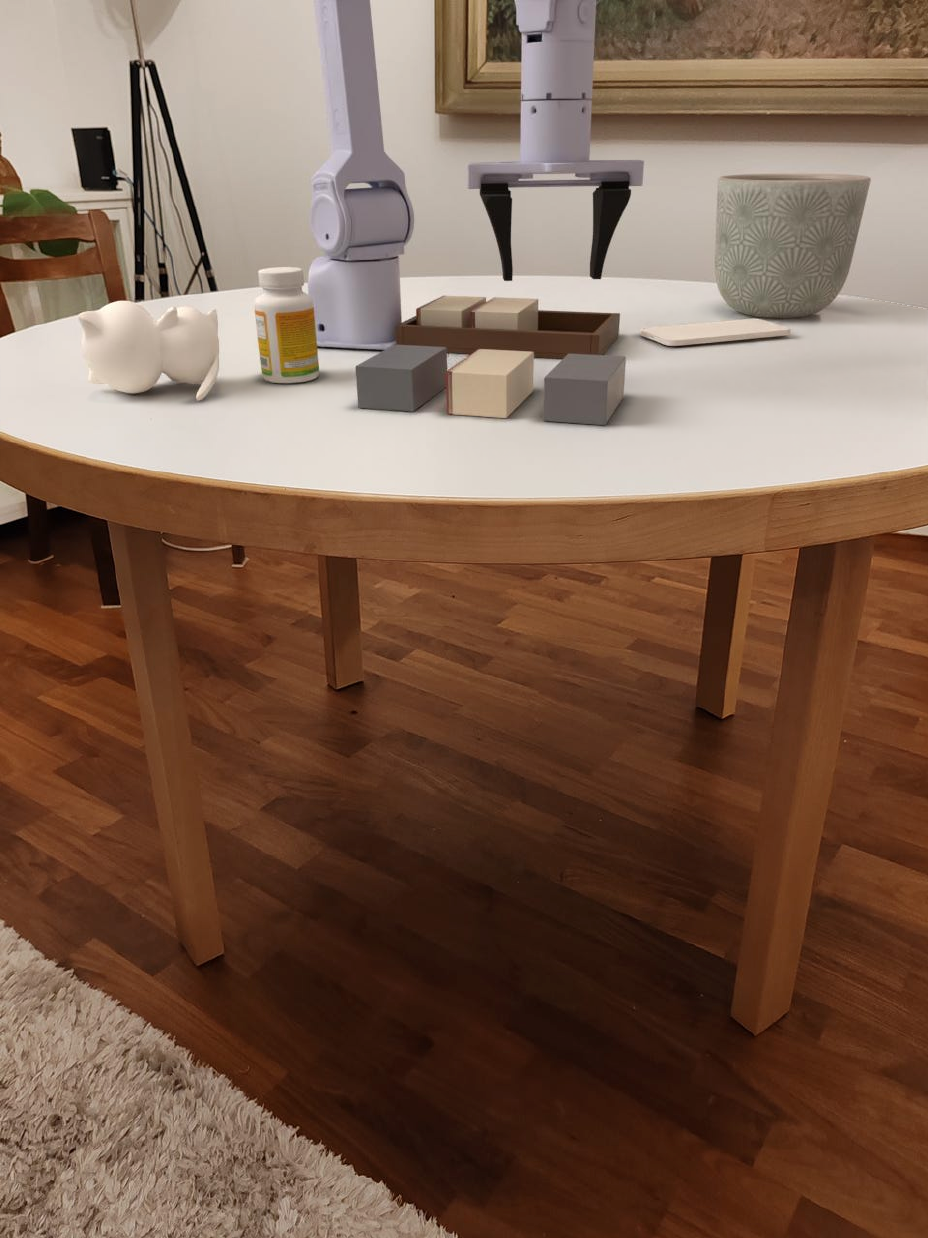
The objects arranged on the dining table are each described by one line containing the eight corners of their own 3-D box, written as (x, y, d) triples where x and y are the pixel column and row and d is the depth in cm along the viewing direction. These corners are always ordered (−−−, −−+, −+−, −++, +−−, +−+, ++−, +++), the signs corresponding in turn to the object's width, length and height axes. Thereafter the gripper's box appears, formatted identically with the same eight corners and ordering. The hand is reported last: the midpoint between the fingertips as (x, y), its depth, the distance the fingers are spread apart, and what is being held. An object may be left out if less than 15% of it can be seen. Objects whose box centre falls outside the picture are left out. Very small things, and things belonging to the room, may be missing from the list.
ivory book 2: (470, 345, 100) (470, 310, 98) (494, 329, 107) (494, 297, 106) (517, 347, 98) (517, 312, 97) (537, 331, 106) (538, 298, 104)
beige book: (416, 342, 101) (415, 308, 100) (443, 327, 109) (443, 295, 107) (462, 344, 100) (461, 310, 98) (486, 328, 108) (486, 296, 106)
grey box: (543, 421, 76) (544, 376, 74) (566, 393, 83) (568, 353, 82) (605, 425, 74) (607, 380, 73) (623, 397, 82) (626, 356, 80)
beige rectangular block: (446, 414, 78) (445, 371, 76) (478, 388, 85) (478, 348, 84) (506, 418, 76) (507, 374, 75) (533, 391, 84) (534, 351, 82)
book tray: (396, 349, 101) (395, 325, 99) (435, 327, 111) (434, 305, 110) (598, 360, 95) (599, 334, 94) (618, 336, 105) (620, 313, 104)
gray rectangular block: (357, 407, 80) (355, 365, 78) (396, 382, 88) (394, 344, 86) (413, 411, 79) (411, 369, 77) (447, 386, 86) (446, 346, 85)
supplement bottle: (329, 372, 91) (321, 266, 87) (303, 386, 87) (293, 274, 82) (279, 369, 93) (269, 264, 89) (251, 382, 89) (238, 272, 84)
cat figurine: (213, 274, 85) (70, 278, 81) (234, 359, 80) (83, 367, 76) (214, 348, 92) (83, 355, 88) (234, 430, 87) (95, 441, 83)
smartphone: (638, 328, 105) (756, 317, 109) (637, 335, 106) (755, 324, 109) (670, 340, 99) (794, 328, 103) (669, 348, 99) (793, 336, 103)
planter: (735, 297, 128) (749, 172, 121) (865, 308, 119) (888, 174, 112) (682, 316, 116) (694, 178, 108) (822, 330, 107) (845, 181, 100)
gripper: (468, 100, 73) (470, 286, 79) (656, 98, 73) (643, 283, 79) (465, 103, 79) (467, 275, 85) (638, 100, 79) (627, 272, 86)
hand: (551, 278), depth 83 cm, fingers open, 7 cm apart
